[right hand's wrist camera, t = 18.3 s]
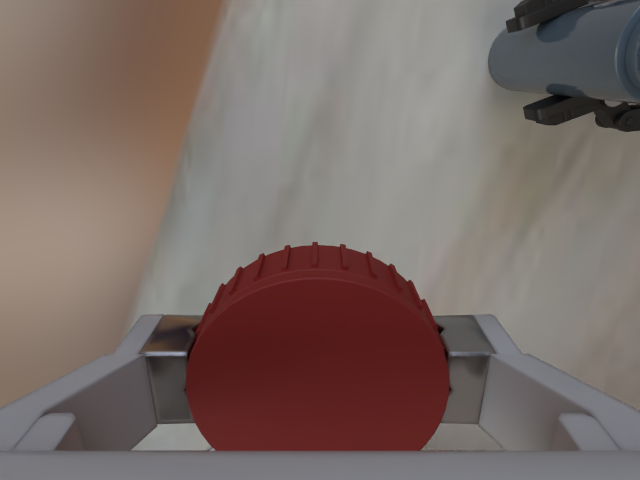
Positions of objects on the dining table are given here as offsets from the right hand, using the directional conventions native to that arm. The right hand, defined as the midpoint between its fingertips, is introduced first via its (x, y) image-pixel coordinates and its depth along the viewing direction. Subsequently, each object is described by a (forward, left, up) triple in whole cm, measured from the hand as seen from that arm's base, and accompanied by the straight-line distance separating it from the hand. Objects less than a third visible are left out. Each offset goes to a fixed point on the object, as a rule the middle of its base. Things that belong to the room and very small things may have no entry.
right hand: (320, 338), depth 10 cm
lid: (0, 0, +2) cm, 2 cm away
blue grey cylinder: (+16, 0, -25) cm, 30 cm away
